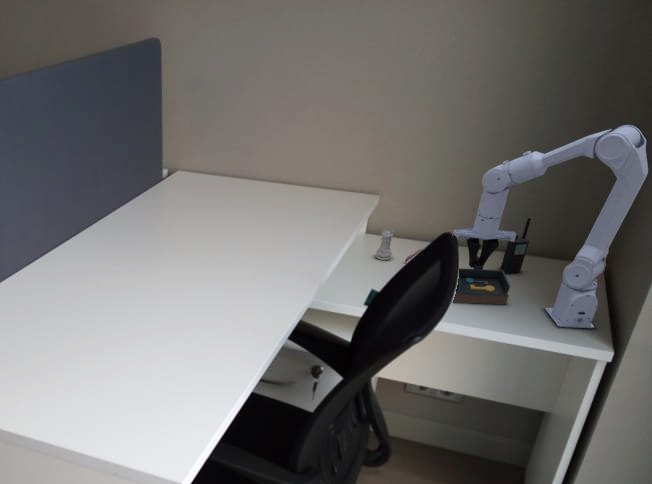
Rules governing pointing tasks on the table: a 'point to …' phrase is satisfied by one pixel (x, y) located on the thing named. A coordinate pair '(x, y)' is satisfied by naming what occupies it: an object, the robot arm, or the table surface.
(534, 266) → the table surface
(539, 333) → the table surface
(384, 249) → the rook chess piece
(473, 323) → the table surface
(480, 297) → the stand
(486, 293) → the dark grey tray
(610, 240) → the robot arm
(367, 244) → the table surface
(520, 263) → the walkie-talkie
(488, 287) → the brass key
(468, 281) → the teal key
